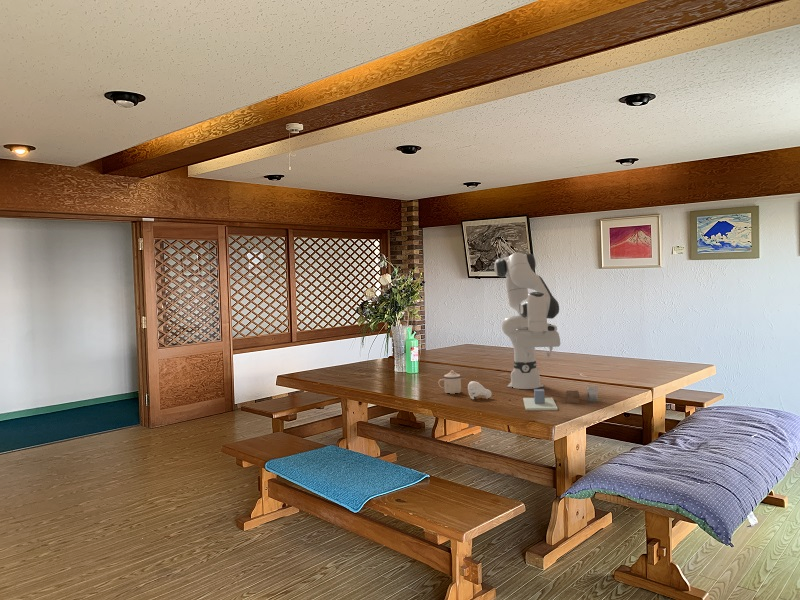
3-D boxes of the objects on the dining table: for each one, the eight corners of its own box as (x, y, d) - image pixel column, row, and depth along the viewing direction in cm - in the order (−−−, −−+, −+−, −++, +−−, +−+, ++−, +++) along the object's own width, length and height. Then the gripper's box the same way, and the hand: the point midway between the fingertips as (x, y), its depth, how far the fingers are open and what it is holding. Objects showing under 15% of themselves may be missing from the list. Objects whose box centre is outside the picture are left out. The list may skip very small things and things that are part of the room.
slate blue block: (534, 401, 282) (533, 389, 281) (544, 401, 281) (543, 389, 281) (535, 403, 277) (534, 391, 277) (544, 403, 276) (544, 391, 276)
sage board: (523, 399, 291) (523, 397, 291) (552, 399, 289) (552, 397, 289) (525, 410, 269) (525, 408, 269) (557, 410, 267) (557, 408, 267)
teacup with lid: (461, 390, 320) (460, 369, 319) (461, 394, 311) (461, 371, 310) (438, 391, 320) (437, 369, 320) (438, 394, 311) (438, 372, 311)
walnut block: (566, 401, 285) (566, 390, 285) (577, 400, 285) (577, 390, 284) (568, 403, 280) (568, 392, 280) (579, 403, 280) (579, 392, 280)
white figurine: (469, 379, 302) (493, 382, 299) (468, 396, 303) (492, 399, 300) (467, 382, 296) (491, 384, 293) (466, 399, 297) (490, 401, 294)
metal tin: (586, 400, 285) (585, 385, 285) (596, 400, 284) (596, 385, 284) (587, 402, 280) (587, 387, 280) (598, 402, 279) (598, 387, 279)
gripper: (515, 328, 276) (515, 357, 277) (560, 327, 273) (561, 357, 273) (514, 326, 282) (515, 355, 283) (558, 325, 279) (559, 355, 280)
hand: (538, 356), depth 278 cm, fingers open, 8 cm apart
